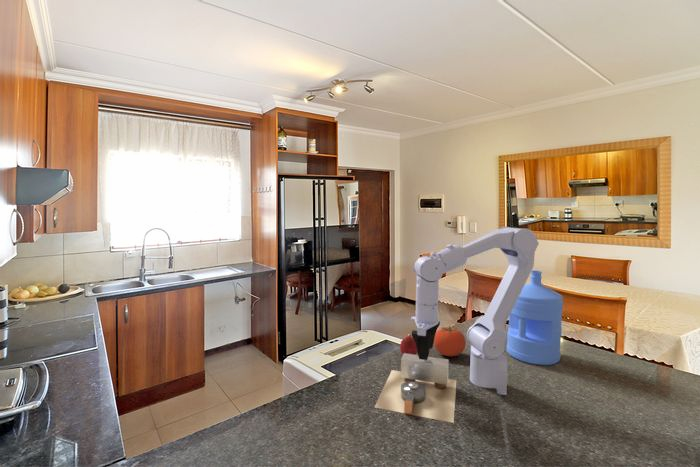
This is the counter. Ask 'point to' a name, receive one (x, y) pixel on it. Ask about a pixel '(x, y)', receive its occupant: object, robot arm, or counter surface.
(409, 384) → the grey lidded pan
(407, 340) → the onion
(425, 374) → the grey long rectangular block
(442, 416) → the wooden board
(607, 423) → the counter surface
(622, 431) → the counter surface
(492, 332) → the robot arm
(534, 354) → the water jug
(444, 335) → the tomato
